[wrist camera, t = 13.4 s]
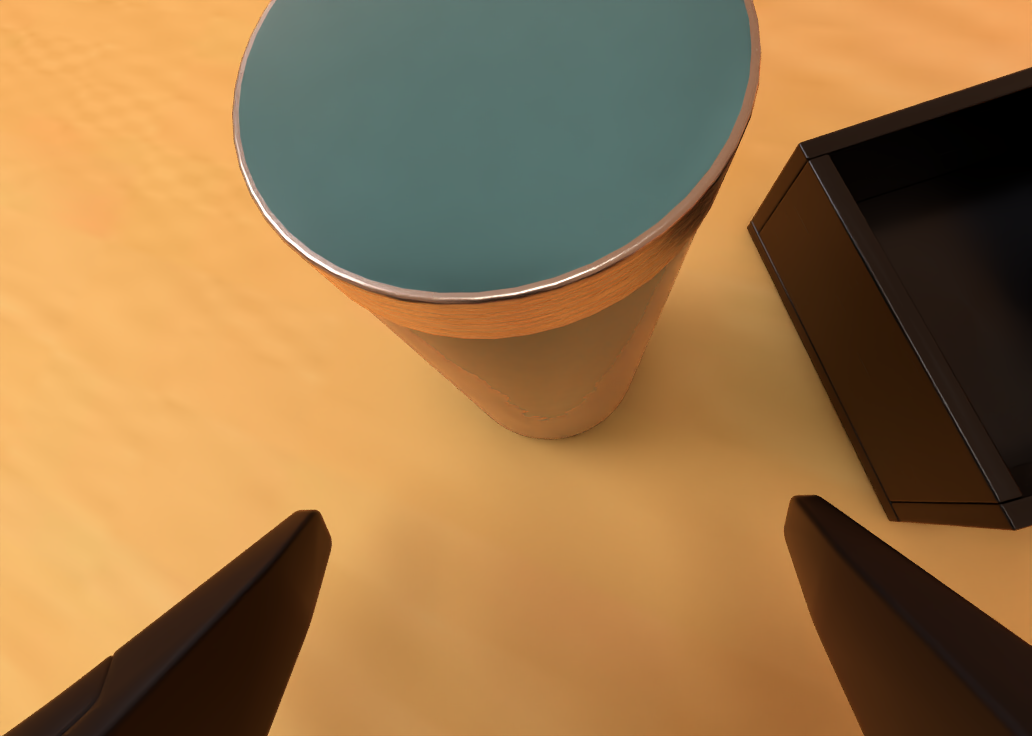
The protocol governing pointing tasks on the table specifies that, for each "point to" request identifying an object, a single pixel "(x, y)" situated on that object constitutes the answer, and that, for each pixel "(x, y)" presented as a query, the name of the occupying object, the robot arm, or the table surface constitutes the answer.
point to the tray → (920, 296)
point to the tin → (500, 175)
